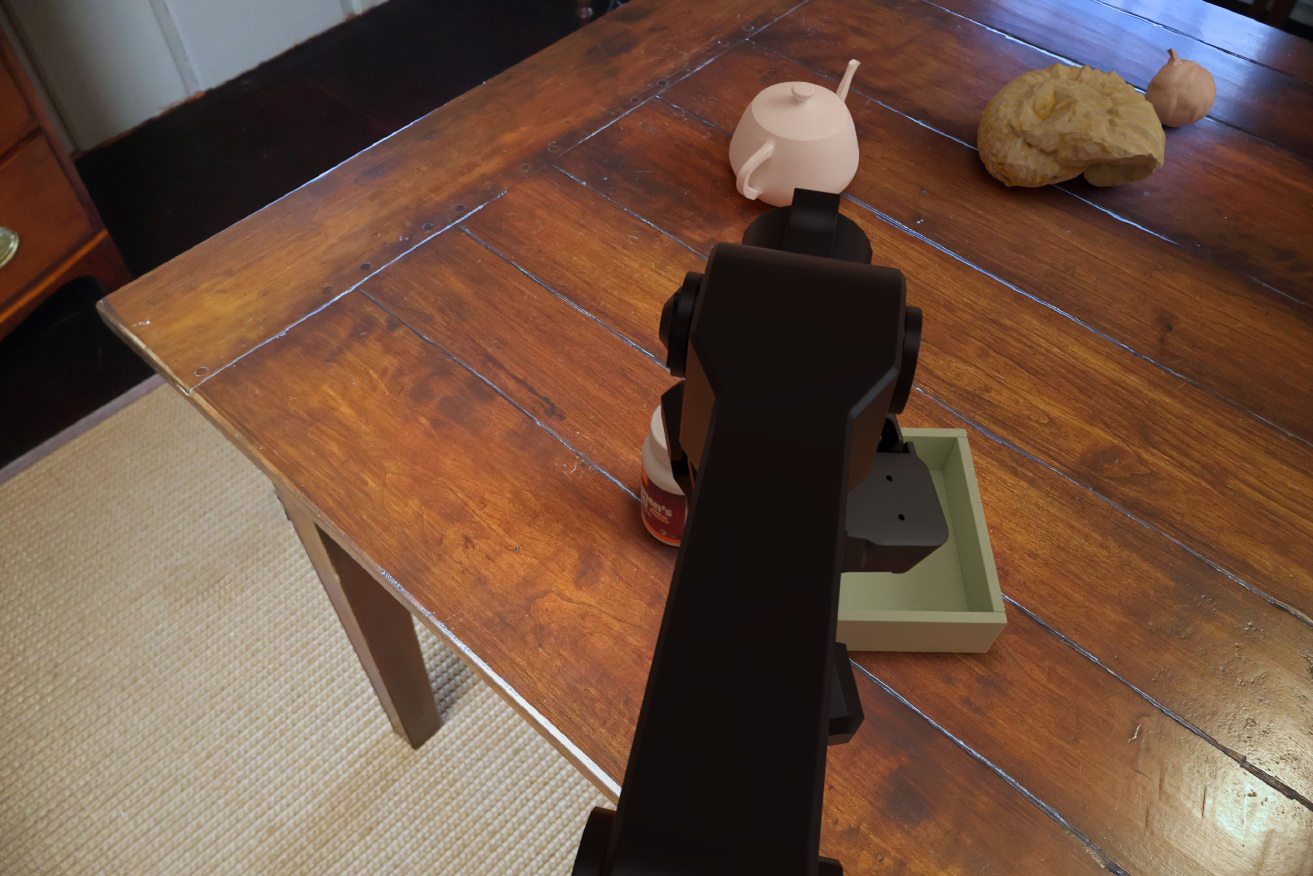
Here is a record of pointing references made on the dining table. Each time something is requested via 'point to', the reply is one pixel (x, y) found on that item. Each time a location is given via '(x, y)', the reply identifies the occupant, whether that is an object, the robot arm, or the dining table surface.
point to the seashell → (1070, 129)
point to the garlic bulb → (1181, 92)
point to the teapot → (795, 141)
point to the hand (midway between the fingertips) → (740, 609)
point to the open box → (932, 571)
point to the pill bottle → (660, 488)
